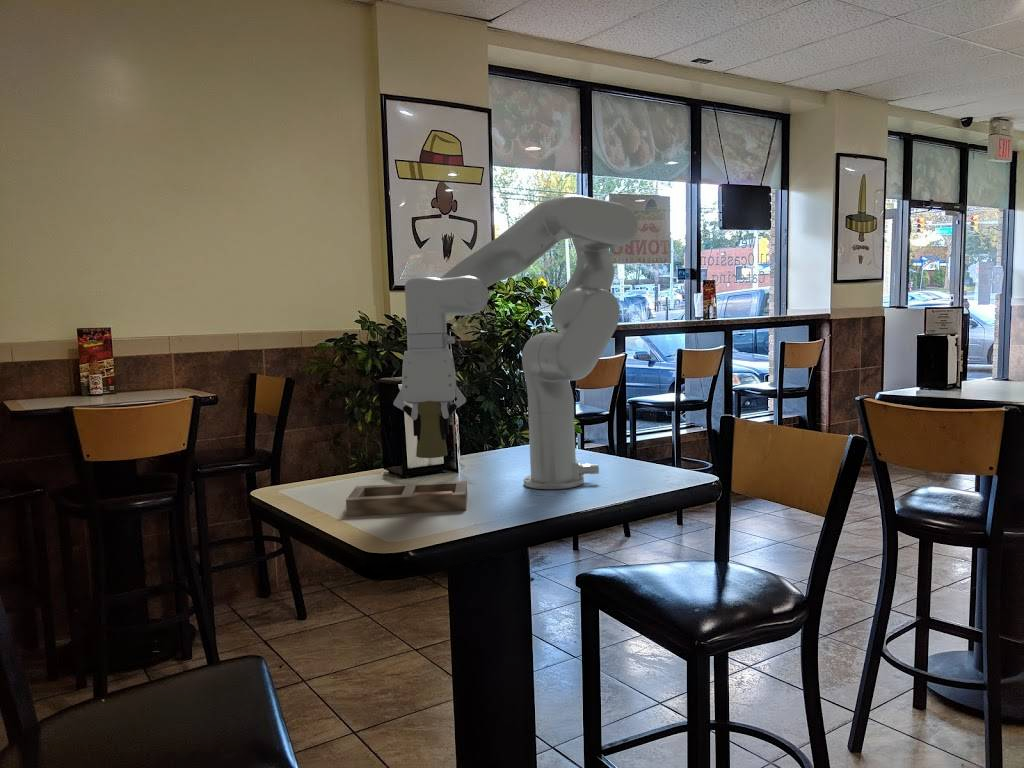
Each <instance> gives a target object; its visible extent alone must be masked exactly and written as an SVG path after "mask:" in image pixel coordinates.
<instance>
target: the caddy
mask: <svg viewBox="0 0 1024 768" xmlns="http://www.w3.org/2000/svg"><path fill="white" fill-rule="evenodd" d="M467 504H468V482H467V480H457V481H456V480H455V481H454V480H453V481H435V482H434V481H431V482H416V483H415V482H413V483H412V482H411V483H395V484H394V483H393V484H375V485H374V484H373V485H356V486H355V487H354V489H353V490H352V491H351V493H350V494H349V495H348V497H347V498H346V499H345V508H346V516H347V517H354V516H355V517H357V516H358V517H359V516H375V515H391V514H392V515H395V514H397V515H398V514H413V513H414V514H416V513H432V512H433V513H434V512H435V513H436V512H452V511H455V512H456V511H467Z"/></svg>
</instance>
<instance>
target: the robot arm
mask: <svg viewBox="0 0 1024 768" xmlns="http://www.w3.org/2000/svg"><path fill="white" fill-rule="evenodd" d="M638 223H639V222H638V219H637V216H636V214H635V213H634V211H633V210H632V209H631V208H630V207H628V206H626V205H624V204H621V203H618V202H613V201H609V200H604V199H599V198H595V197H590V196H584V195H579V194H564V195H561V196H557V197H553V198H550V199H546V200H543V201H542V202H540V203H538V204H537V205H535V206H534V207H533V208H532V209H531V210H530V211H528V212H527V213H525V215H523V216H522V217H521V218H519V220H517V221H516V222H515V223H514V224H512V225H511V226H510V227H508V229H506V230H505V231H503V232H502V233H501V234H500V235H499V236H497V237H496V238H494V239H493V240H491V241H490V242H488V243H486V244H485V245H483V246H482V247H481V248H480V249H478V250H476V251H474V252H473V253H472V254H470V255H468V256H467V257H465V258H464V259H463V260H461V261H460V262H458V263H457V264H456V265H454V266H453V267H452V268H451V269H450V270H448V271H447V272H446V273H445V274H443V275H442V276H441V277H434V276H433V277H431V276H430V277H429V276H428V277H425V276H424V277H423V276H421V277H412V278H409V279H408V280H407V281H406V282H405V284H404V297H405V300H404V301H405V318H406V320H405V321H406V342H407V350H405V351H404V352H403V358H402V371H401V374H402V375H401V389H400V390H399V392H398V394H397V396H396V397H395V399H394V400H393V402H392V403H393V406H394V407H396V408H398V409H400V410H401V411H403V412H404V414H406V415H407V416H409V418H411V420H412V423H413V424H412V426H413V427H412V428H413V429H412V430H413V436H414V437H416V441H419V440H420V429H421V427H420V420H419V414H418V404H419V403H422V402H425V401H434V402H438V403H440V404H441V411H442V414H441V419H440V430H441V436H442V440H445V441H446V436H448V435H449V432H450V431H449V430H450V429H449V417H450V416H451V415H452V414H453V413H454V412H455V411H456V410H457V409H458V408H460V407H461V406H463V405H464V404H466V402H467V398H466V397H465V396H464V394H463V393H462V391H461V390H460V388H459V386H457V377H456V369H455V368H456V367H455V359H454V355H453V349H448V347H449V345H451V344H456V342H455V339H456V338H455V335H454V336H453V335H452V336H451V335H449V334H448V333H447V332H448V330H447V328H448V327H447V317H453V316H471V315H474V314H477V313H479V312H481V311H483V310H484V309H485V307H486V306H487V304H488V302H489V298H490V293H489V289H488V288H489V287H491V286H493V285H494V284H496V283H498V282H502V281H503V280H506V279H510V278H513V277H514V276H517V275H518V274H521V273H523V272H524V271H526V270H528V268H530V267H532V265H533V264H534V263H535V262H537V261H538V260H539V259H540V258H542V256H543V255H545V254H547V252H549V251H550V249H552V248H553V247H554V246H555V245H556V244H558V243H559V242H561V241H562V240H568V239H571V240H572V243H573V246H574V249H575V254H576V266H575V268H574V270H573V273H572V274H571V277H569V280H568V281H567V283H566V285H565V286H564V288H563V289H562V292H561V293H560V295H559V296H558V299H557V300H556V302H555V303H554V306H553V307H552V308H553V309H552V311H551V322H552V325H553V327H554V328H555V329H556V330H557V332H553V331H552V332H540V333H537V334H535V335H533V336H532V337H530V338H529V339H528V340H527V341H526V343H525V344H524V346H523V349H522V353H521V364H522V369H523V374H524V379H525V383H526V393H527V407H528V408H527V409H528V411H527V413H528V432H529V433H528V434H529V435H528V437H529V440H528V441H529V457H530V458H529V460H530V463H529V464H530V475H527V476H525V477H524V478H523V485H524V486H526V487H527V488H531V489H535V490H536V489H537V490H563V489H571V488H575V487H579V486H581V485H583V484H584V483H585V477H584V475H585V474H586V475H588V474H590V475H596V474H599V472H600V469H599V464H598V463H597V464H591V463H585V464H583V463H579V461H578V460H577V459H576V458H577V457H576V434H575V433H576V432H575V430H576V428H575V399H574V393H573V389H572V386H571V382H572V381H579V380H582V379H584V378H585V377H587V376H588V375H590V373H592V371H593V370H594V368H595V367H596V365H597V364H598V362H599V360H600V358H601V357H602V355H603V353H604V351H605V350H606V348H607V346H608V344H609V343H610V341H611V338H612V337H613V335H614V333H615V332H616V329H617V327H618V324H619V321H620V313H621V311H620V304H619V302H618V301H619V300H618V299H617V298H616V296H615V295H614V293H612V292H611V291H610V289H611V287H612V285H613V283H614V279H615V267H614V263H613V258H612V255H611V251H610V249H614V248H620V247H625V246H626V245H628V244H629V243H631V242H632V241H633V240H634V239H635V237H636V236H637V233H638V229H639V226H638V225H639V224H638ZM558 331H559V332H558ZM570 381H571V382H570ZM455 398H456V400H455ZM452 401H454V402H452ZM449 402H452V403H451V404H450V405H448V403H449ZM409 404H411V405H412V407H411V406H410V405H409Z"/></svg>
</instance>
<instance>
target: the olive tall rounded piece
mask: <svg viewBox="0 0 1024 768" xmlns="http://www.w3.org/2000/svg"><path fill="white" fill-rule="evenodd" d="M418 414H419V420H420V427H421V429H420V440H419V441H417V440H416V441H417V442H416V451H415V452H416V453H415V457H417V458H421V459H437V458H443V457H447V456H448V448H447V443H446V439H445V440H442V436H441V430H440V419H441V415H442V411H441V404H440V403H438V402H434V401H425V402H422V403H419V404H418Z"/></svg>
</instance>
